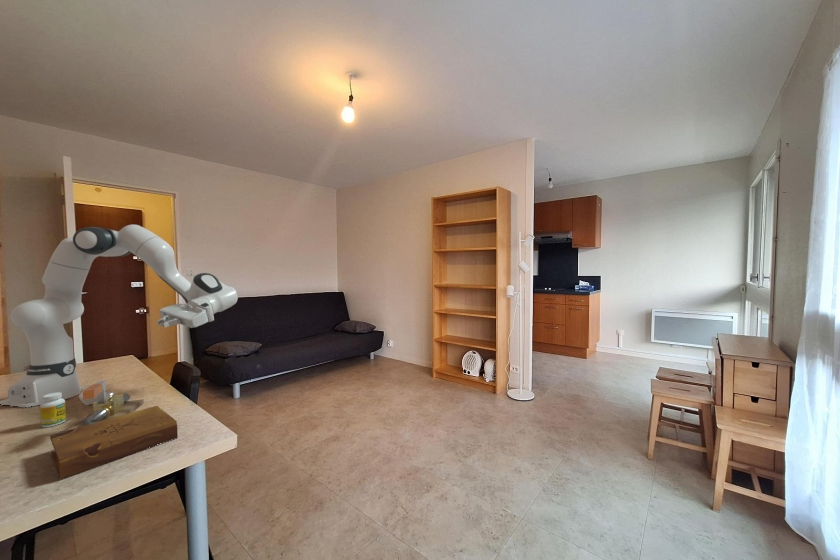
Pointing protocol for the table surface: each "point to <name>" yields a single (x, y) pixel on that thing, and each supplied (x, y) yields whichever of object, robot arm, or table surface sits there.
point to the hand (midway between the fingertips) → (160, 324)
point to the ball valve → (107, 408)
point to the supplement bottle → (52, 410)
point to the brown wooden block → (110, 440)
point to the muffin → (87, 401)
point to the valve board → (128, 408)
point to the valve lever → (98, 392)
